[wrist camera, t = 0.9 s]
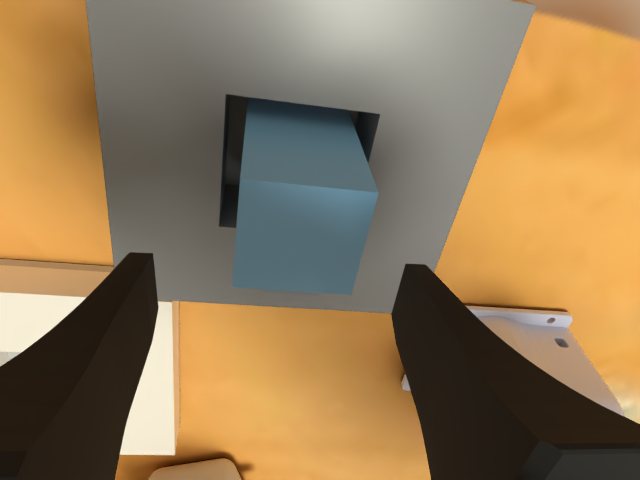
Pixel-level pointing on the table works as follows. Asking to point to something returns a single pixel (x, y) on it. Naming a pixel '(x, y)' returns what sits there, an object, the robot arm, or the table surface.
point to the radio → (199, 471)
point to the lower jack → (62, 298)
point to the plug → (301, 200)
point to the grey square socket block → (296, 87)
